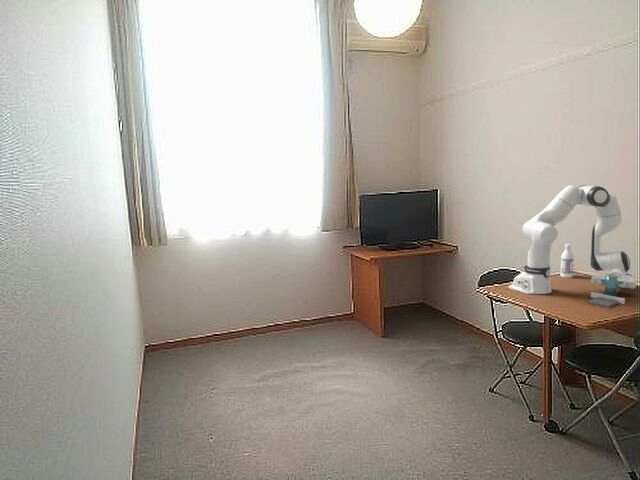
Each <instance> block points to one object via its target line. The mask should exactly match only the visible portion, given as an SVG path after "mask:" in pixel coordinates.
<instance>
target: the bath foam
mask: <svg viewBox="0 0 640 480" xmlns="http://www.w3.org/2000/svg"><path fill="white" fill-rule="evenodd" d="M571 245H572V244H571V243H566V244H565V247H564V251H563V252H562V253H561V255H560V277H561V278H565V279H566V278H567V279H569V278H573V277H574V266H575V265H574V263H575V260H574V259H575V256H574V253H573V252H572V251H571V250H572V249H571Z"/></svg>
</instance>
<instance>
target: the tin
mask: <svg viewBox="0 0 640 480" xmlns="http://www.w3.org/2000/svg"><path fill="white" fill-rule="evenodd" d="M604 276H605V285H604V295H609V296H615V297H617V294H618V293H617V291H618V288H617V278H618V275H616V274H609V273H605V275H604Z"/></svg>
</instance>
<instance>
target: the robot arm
mask: <svg viewBox="0 0 640 480" xmlns="http://www.w3.org/2000/svg"><path fill="white" fill-rule="evenodd" d="M577 205H584V206H586V207H595V210H596V216H597V220H596V221H597V222H596V224H594V225H593V227H592V231H591V242H590V243H591V246H590V249H591V250H590V259H589V264H590V267H591V268H592V269H593V270H595V271H597V272H599V271H609V270H611V271H610V272H609V273H608V274H616V275H618V278H617V289H619V288H621V289H623V288H625V289H633V290H634V289H636V285H637V283H636V282H637V278H636V276H635V275H633V274H630V271H629V270H630V269H631V259H630V257H629V255H628V254H627V253H625V252H624V251H609V252H608V251H607V252H601V238H602V237H603V236H604V235H606V234H609V233H611V232H613V231H615V230H616V229H617V228H619V227H620V225H621V224H622V212H621V207H620V205H619V202H618V198H617V196H615V195H614V194H610V193H609V192H608V190H607V189H606V188H604V187H602V186H599V185H598V186H597V185H592V184H589V185H586V184H585V185H580V186H576V185H573V184H572V185H567V186H565V187H564V188H563V189H561V191H560V192H559V193H558V194H556V196H554V198H553V199H552V201H550V202H549V203H548V204H547V206H546V207H545V208H544V209H542V211H540V212H538V214H537V215H535V216H534V217H532V218H531V219H529V220H528V221H525V222H524V223H523V225H522V229H521V230H522V233H523V235H524V236H526V238H527V239H530V240H532V242H531V246H530V249H529V250H528V252H527V264H526V265H524V266H523V267H522V269H523V271H522V272H520V273H519V274H517V275H516V276H515V277H514V278H513V282H512V283H511V284H509V286H508V289H510V290H513V291H517V292H521V293H524V294H528V295H546V294H547V295H548V294H550V293H552V291H553V290H552V288H551V282H550V275H551V266H550V256H551V255H550V254H551V249H552V247H553V244H554V242H555V241H556V240H557V238H558V237H559V236H558V234H559V233H558V230H557V228H556V227H555V226H556V225H557V224H559V223H561V222H563V221H564V220H565V219H566V218H567V217H568V216H569V215H570V214H571V212H572V211H573V210H574V209H575V207H576V206H577ZM591 284H593V285H598V286H605V275H602V274H595V275H593V276H592V277H591Z"/></svg>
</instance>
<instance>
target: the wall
mask: <svg viewBox="0 0 640 480" xmlns="http://www.w3.org/2000/svg"><path fill="white" fill-rule="evenodd" d="M596 297H600V298H606V299H611V300H616V301H618V304H623V305H625V304H626V297H625V298H624V297H619V296H616V297H615V296H609V295H604V294H603V293H599V292H594V291H591V292H590V298H591V299H594V298H596Z"/></svg>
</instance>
